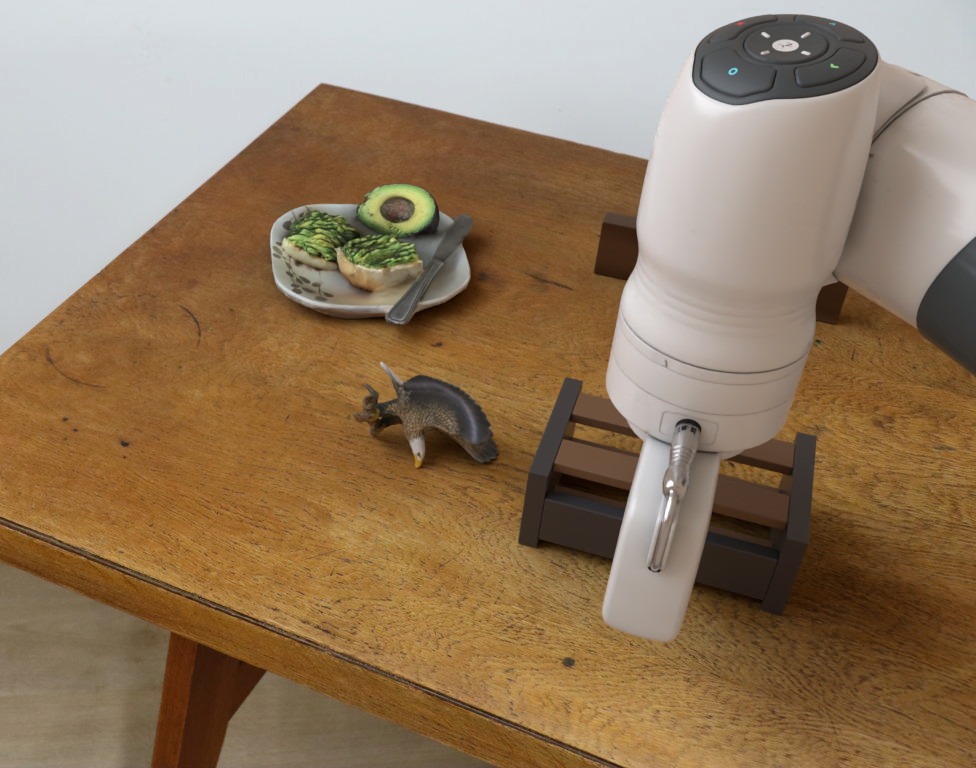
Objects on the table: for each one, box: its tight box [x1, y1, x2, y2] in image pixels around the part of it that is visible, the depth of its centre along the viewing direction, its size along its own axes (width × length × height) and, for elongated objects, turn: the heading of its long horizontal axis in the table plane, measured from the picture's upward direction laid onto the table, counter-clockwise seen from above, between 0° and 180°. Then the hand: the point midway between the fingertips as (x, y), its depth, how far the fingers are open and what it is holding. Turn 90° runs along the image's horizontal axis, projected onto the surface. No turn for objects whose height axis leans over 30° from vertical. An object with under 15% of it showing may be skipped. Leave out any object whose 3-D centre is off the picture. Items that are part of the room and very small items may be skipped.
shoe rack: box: [517, 376, 818, 616], centre depth 69 cm, size 10×16×6 cm, turn 71°
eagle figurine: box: [352, 361, 500, 469], centre depth 74 cm, size 8×7×9 cm
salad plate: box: [268, 183, 474, 327], centre depth 91 cm, size 19×18×5 cm
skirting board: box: [593, 211, 850, 325], centre depth 92 cm, size 2×20×5 cm, turn 71°
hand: (650, 566), depth 62 cm, fingers closed
